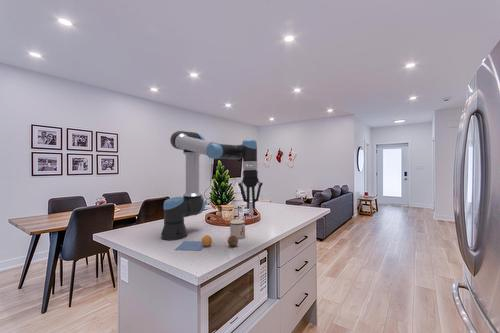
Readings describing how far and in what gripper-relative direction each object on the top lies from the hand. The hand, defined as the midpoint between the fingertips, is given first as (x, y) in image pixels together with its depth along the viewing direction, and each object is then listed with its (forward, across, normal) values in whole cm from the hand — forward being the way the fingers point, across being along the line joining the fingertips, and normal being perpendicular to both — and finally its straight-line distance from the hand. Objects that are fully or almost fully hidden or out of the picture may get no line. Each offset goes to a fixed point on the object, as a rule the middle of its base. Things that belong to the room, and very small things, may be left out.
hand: (251, 214), depth 123 cm
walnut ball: (+14, -10, 0) cm, 17 cm away
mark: (+16, -32, 0) cm, 36 cm away
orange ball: (+14, -24, 0) cm, 28 cm away
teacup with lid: (+17, -10, +18) cm, 26 cm away
